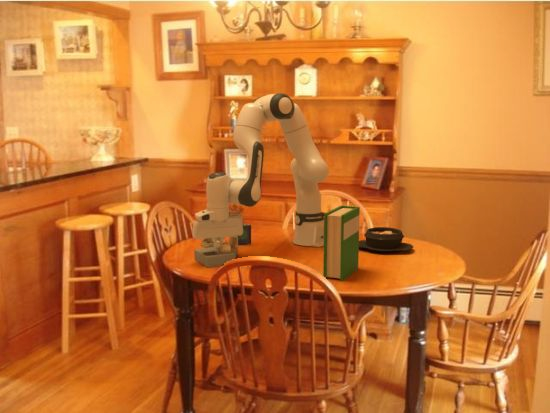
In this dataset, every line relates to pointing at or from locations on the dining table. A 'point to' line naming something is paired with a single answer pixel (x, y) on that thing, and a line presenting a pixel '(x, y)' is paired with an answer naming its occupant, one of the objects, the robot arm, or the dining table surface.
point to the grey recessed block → (212, 256)
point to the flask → (245, 235)
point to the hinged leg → (224, 247)
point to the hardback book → (341, 242)
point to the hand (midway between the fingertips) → (218, 248)
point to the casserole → (384, 240)
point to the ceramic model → (208, 242)
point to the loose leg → (234, 244)
